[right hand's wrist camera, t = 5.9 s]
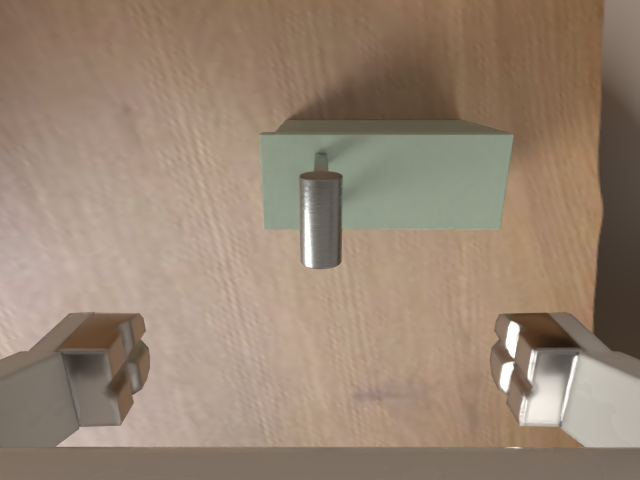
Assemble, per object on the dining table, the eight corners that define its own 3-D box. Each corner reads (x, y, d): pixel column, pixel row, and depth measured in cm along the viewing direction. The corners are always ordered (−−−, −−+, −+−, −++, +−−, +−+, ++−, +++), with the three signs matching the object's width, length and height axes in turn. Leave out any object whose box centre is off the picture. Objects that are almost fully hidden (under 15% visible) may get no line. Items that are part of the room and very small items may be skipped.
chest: (287, 191, 36) (277, 223, 27) (285, 119, 34) (274, 132, 26) (453, 191, 36) (492, 223, 27) (461, 119, 34) (506, 131, 25)
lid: (265, 224, 27) (241, 287, 19) (261, 132, 25) (232, 157, 17) (493, 224, 27) (570, 287, 19) (506, 132, 25) (598, 157, 17)
